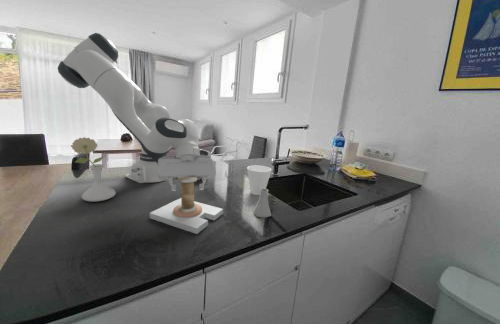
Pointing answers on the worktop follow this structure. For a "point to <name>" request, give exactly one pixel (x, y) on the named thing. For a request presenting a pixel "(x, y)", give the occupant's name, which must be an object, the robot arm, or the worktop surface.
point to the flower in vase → (98, 189)
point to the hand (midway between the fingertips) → (188, 189)
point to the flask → (262, 205)
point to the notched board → (186, 216)
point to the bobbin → (187, 194)
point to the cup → (258, 178)
